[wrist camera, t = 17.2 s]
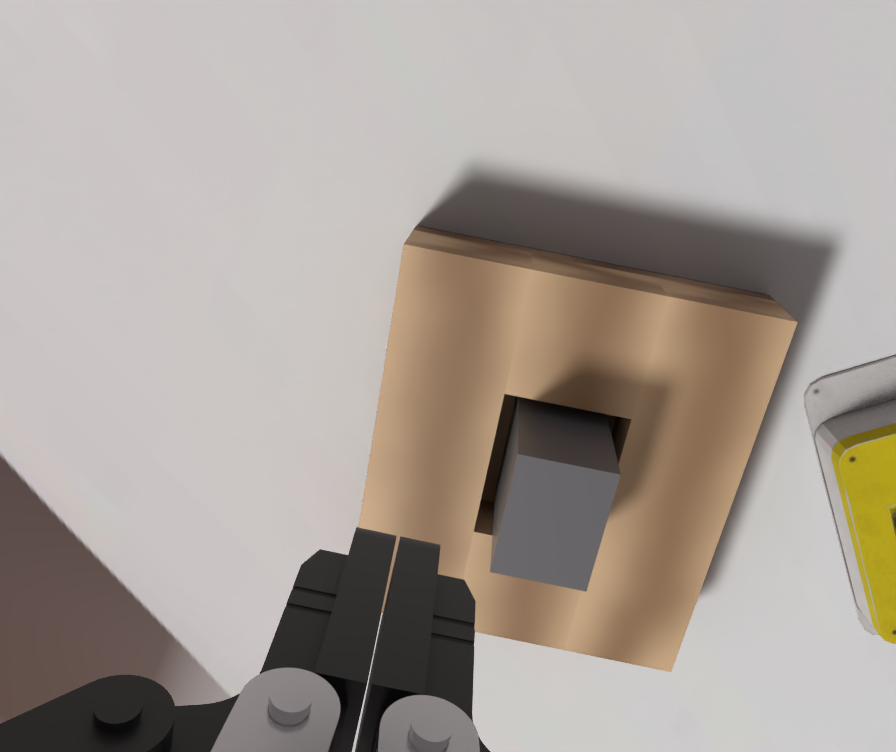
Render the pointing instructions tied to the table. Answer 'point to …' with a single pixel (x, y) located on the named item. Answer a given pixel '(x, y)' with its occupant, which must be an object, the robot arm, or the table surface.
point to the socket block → (579, 386)
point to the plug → (553, 494)
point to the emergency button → (861, 481)
